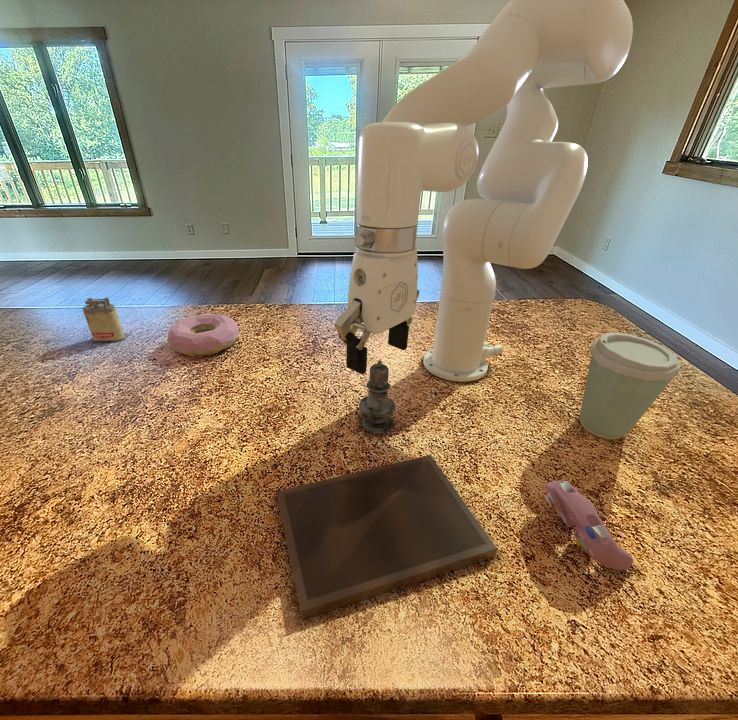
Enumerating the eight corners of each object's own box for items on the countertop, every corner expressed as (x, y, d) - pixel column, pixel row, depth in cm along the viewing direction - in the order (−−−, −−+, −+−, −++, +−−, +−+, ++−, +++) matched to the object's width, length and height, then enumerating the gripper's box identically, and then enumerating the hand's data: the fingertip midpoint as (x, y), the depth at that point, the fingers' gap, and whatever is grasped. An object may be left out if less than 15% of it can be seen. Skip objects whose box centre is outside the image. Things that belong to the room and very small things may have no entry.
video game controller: (544, 508, 49) (533, 476, 46) (579, 495, 49) (570, 461, 45) (595, 585, 41) (586, 552, 38) (638, 570, 40) (633, 536, 37)
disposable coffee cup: (630, 414, 64) (669, 334, 56) (653, 458, 55) (702, 370, 47) (560, 402, 67) (587, 324, 59) (570, 442, 58) (604, 357, 50)
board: (429, 462, 55) (430, 454, 54) (495, 556, 42) (497, 548, 42) (277, 499, 49) (276, 491, 49) (301, 619, 37) (301, 611, 36)
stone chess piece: (392, 436, 59) (398, 372, 53) (355, 432, 60) (357, 368, 54) (395, 413, 64) (400, 352, 58) (361, 409, 65) (362, 348, 59)
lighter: (90, 342, 89) (75, 301, 84) (98, 334, 92) (84, 295, 87) (121, 341, 89) (107, 301, 84) (128, 334, 92) (115, 295, 87)
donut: (253, 338, 89) (250, 319, 87) (202, 367, 78) (197, 346, 76) (208, 324, 97) (204, 305, 94) (155, 348, 86) (150, 328, 83)
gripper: (364, 256, 40) (359, 391, 48) (447, 233, 51) (431, 346, 59) (315, 245, 44) (317, 370, 53) (400, 225, 55) (391, 332, 64)
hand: (377, 358), depth 56 cm, fingers open, 9 cm apart
